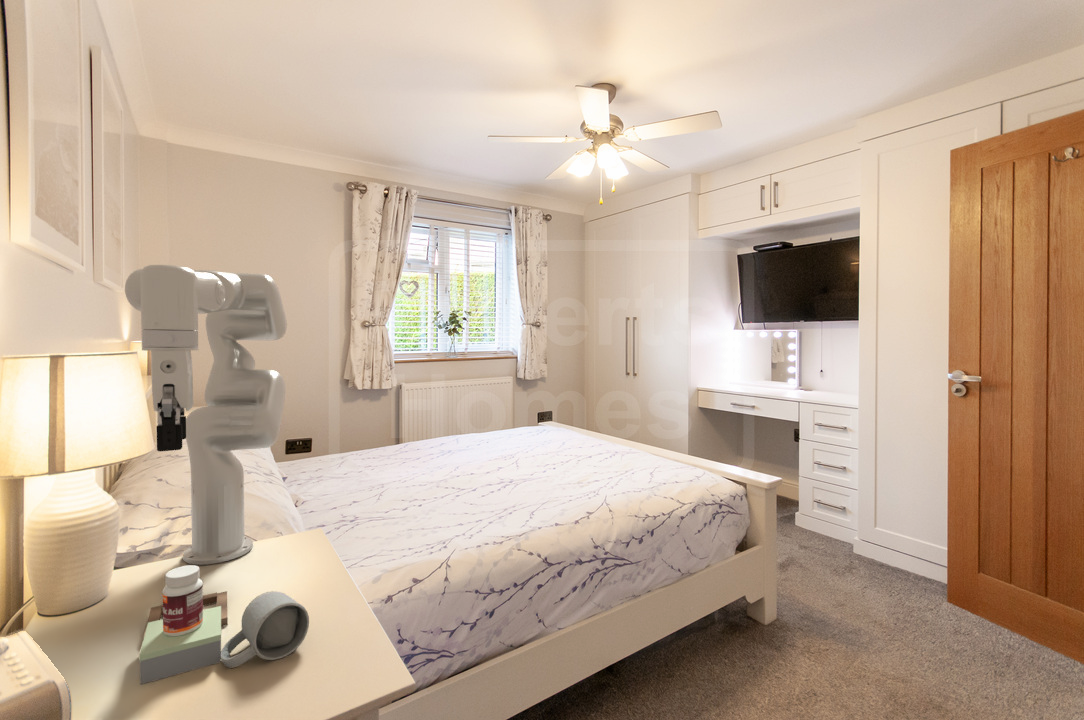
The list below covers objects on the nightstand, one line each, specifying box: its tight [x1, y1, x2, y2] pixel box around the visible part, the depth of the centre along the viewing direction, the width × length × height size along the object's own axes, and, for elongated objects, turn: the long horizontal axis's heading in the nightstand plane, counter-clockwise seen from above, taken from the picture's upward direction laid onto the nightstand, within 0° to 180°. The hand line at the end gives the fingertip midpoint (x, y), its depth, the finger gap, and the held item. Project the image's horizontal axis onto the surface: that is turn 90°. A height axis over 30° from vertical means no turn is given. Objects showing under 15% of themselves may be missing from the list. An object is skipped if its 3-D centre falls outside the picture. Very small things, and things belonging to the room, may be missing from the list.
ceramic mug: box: [220, 590, 310, 668], centre depth 74 cm, size 11×8×8 cm
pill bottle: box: [162, 564, 204, 636], centre depth 73 cm, size 5×5×8 cm
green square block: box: [139, 606, 222, 685], centre depth 73 cm, size 9×9×4 cm
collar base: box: [142, 590, 229, 641], centre depth 82 cm, size 11×11×1 cm
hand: (172, 444), depth 84 cm, fingers open, 9 cm apart
